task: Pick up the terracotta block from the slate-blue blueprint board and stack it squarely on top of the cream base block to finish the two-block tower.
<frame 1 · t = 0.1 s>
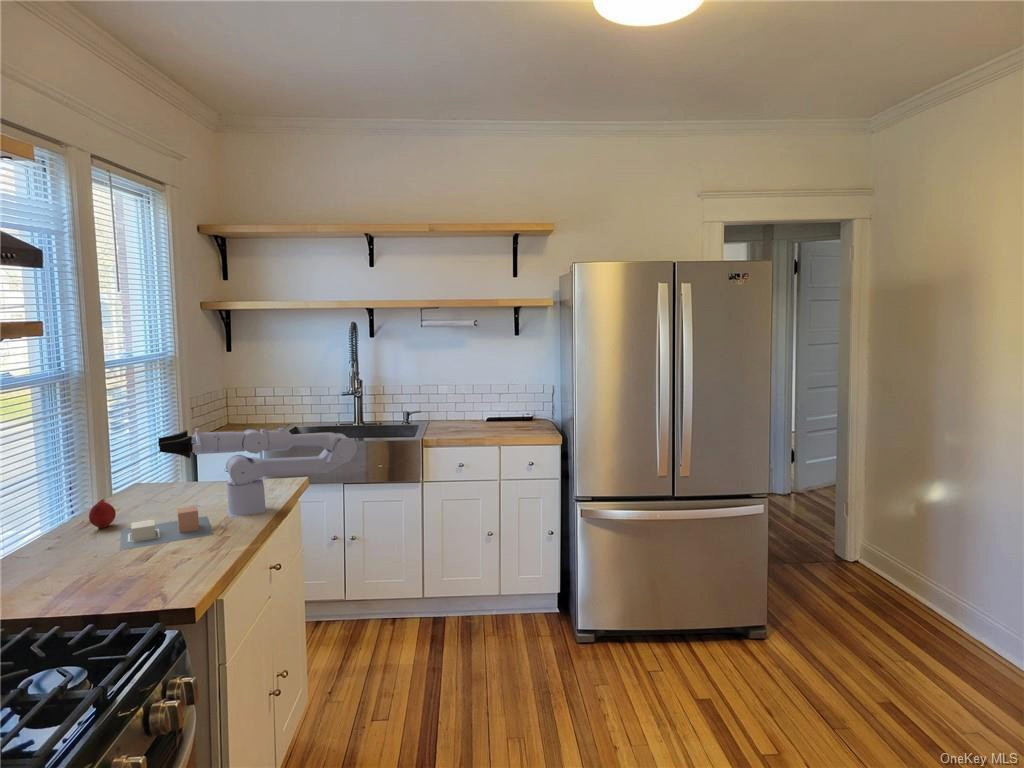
hand: (159, 444, 166), 22 cm above the counter, tool horizontal, fingers open, 7 cm apart
blueprint board: (166, 534, 162), on the counter
terracotta block: (188, 528, 164), point 1 cm above the counter, touching blueprint board
onion: (103, 529, 166), on the counter
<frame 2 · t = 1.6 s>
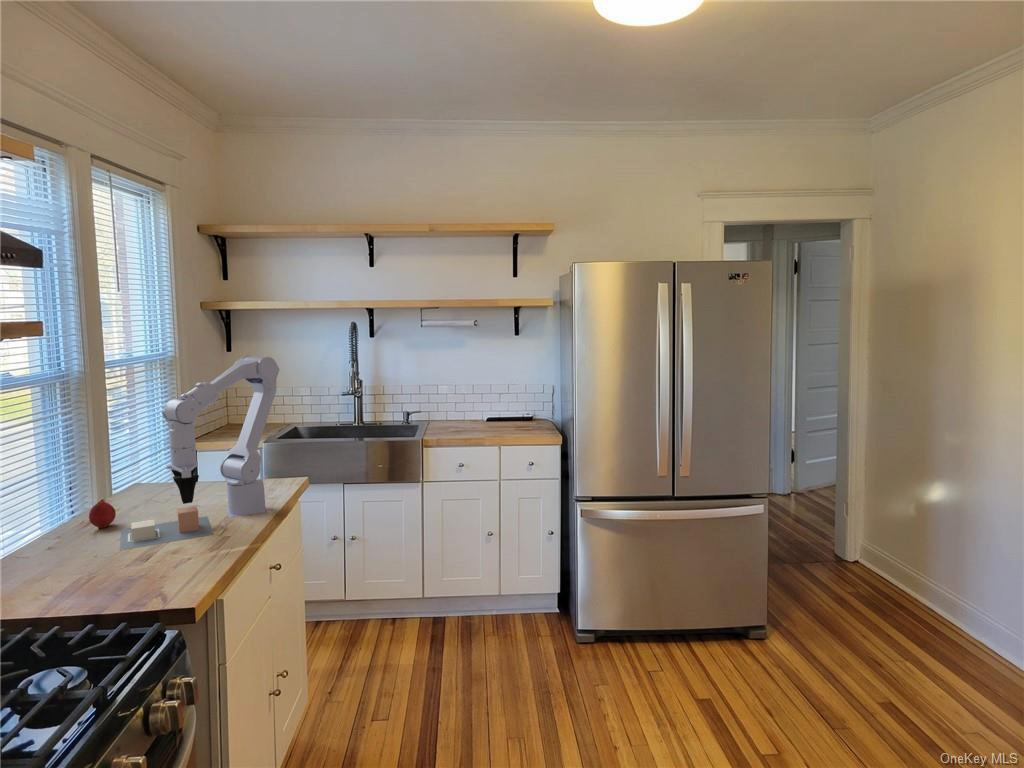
hand: (186, 498, 163), 8 cm above the counter, tool pointing down, fingers open, 7 cm apart
nothing on the counter moved.
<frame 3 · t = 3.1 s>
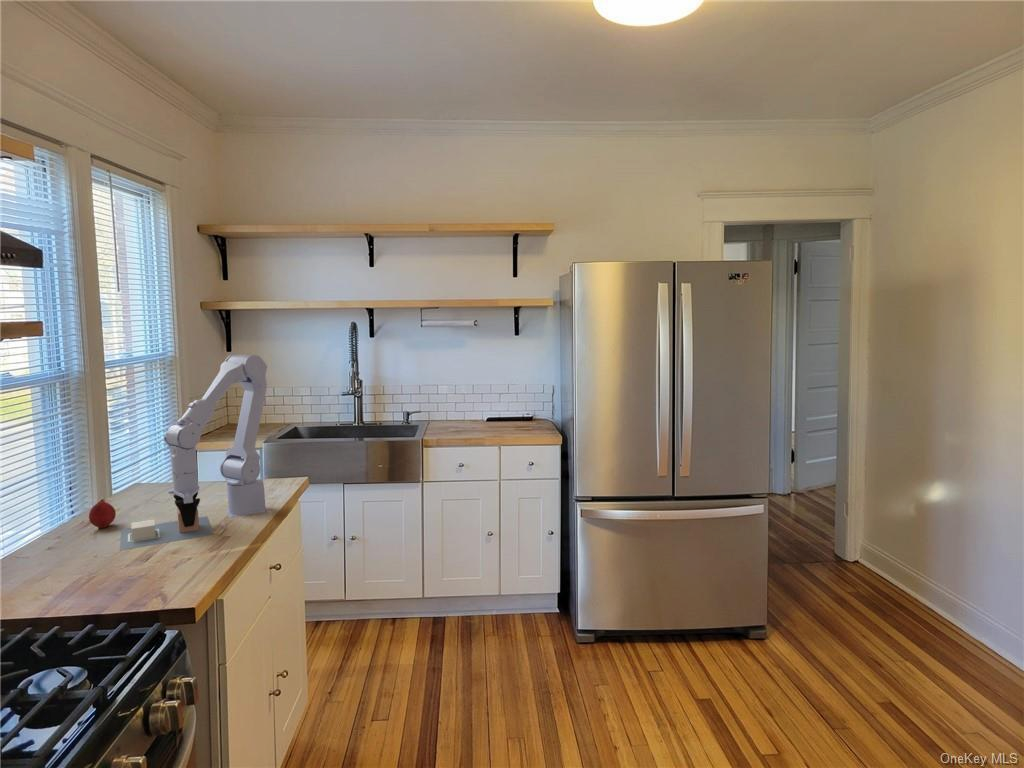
hand: (188, 523, 164), 2 cm above the counter, tool pointing down, fingers closed on terracotta block, 4 cm apart
terracotta block: (188, 528, 164), point 1 cm above the counter, touching blueprint board, gripper
everything else where it was.
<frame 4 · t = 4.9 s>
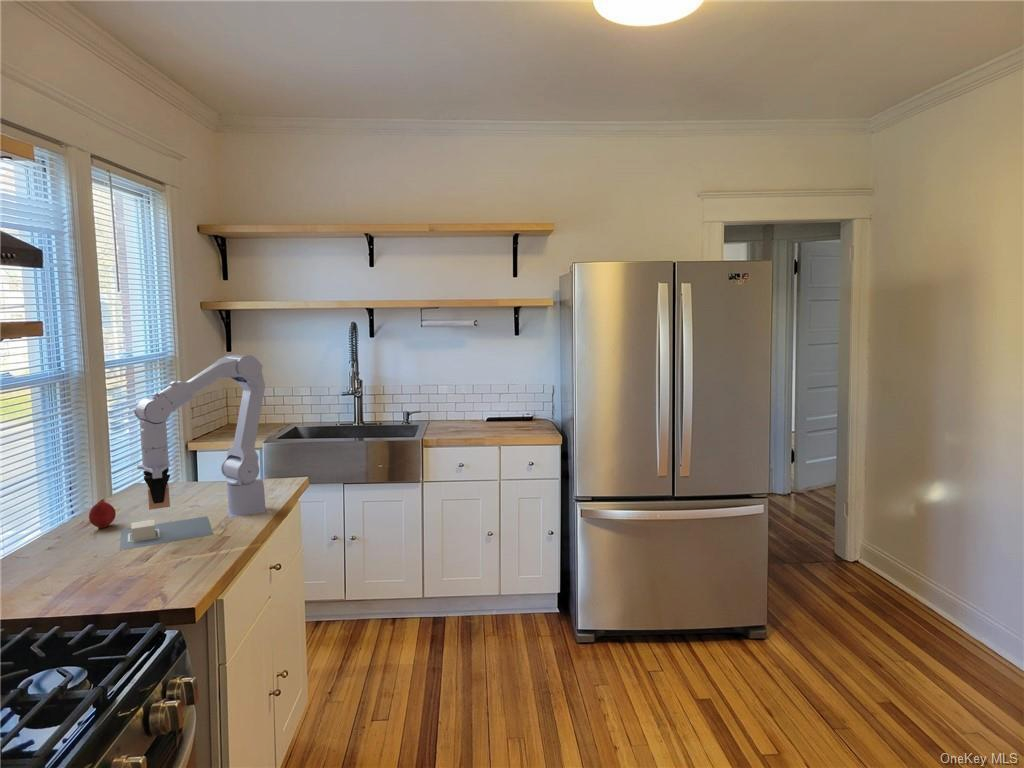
hand: (158, 500, 160), 9 cm above the counter, tool pointing down, fingers closed on terracotta block, 4 cm apart
terracotta block: (159, 505, 160), point 8 cm above the counter, touching gripper
everything else where it was.
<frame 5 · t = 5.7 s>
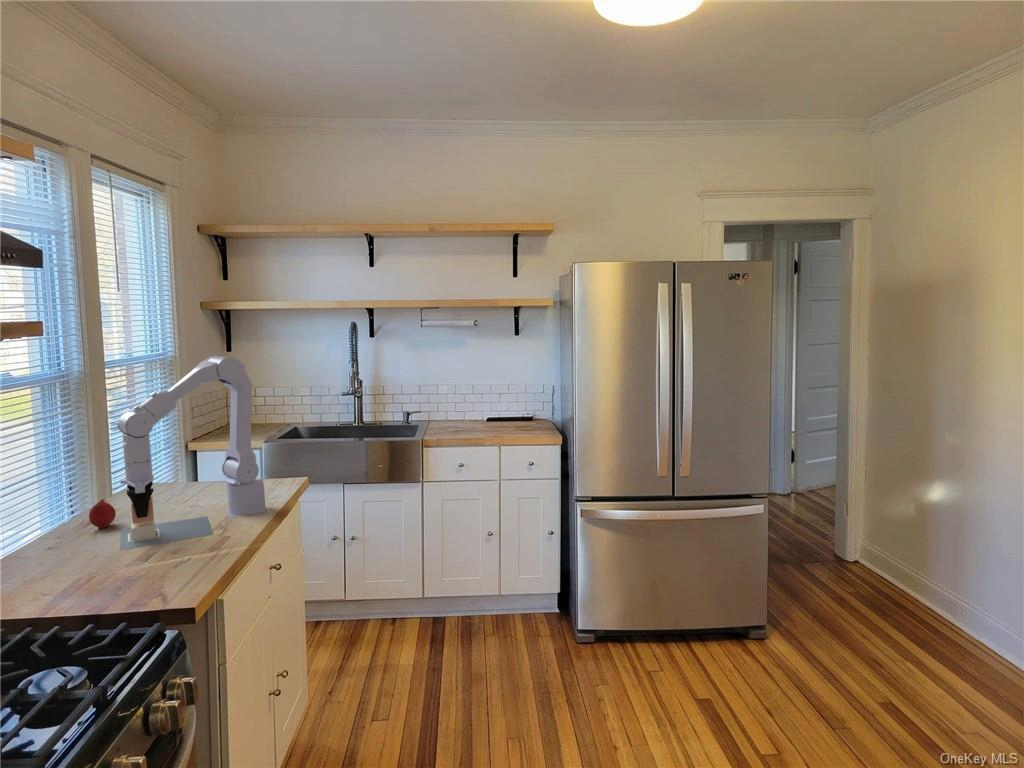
hand: (142, 514, 159), 6 cm above the counter, tool pointing down, fingers closed on terracotta block, 4 cm apart
terracotta block: (143, 519, 159), point 5 cm above the counter, touching gripper
everything else where it was.
when the fingers open (6 cm above the counter, at t = 6.6 s): terracotta block stays where it is, resting on blueprint board.
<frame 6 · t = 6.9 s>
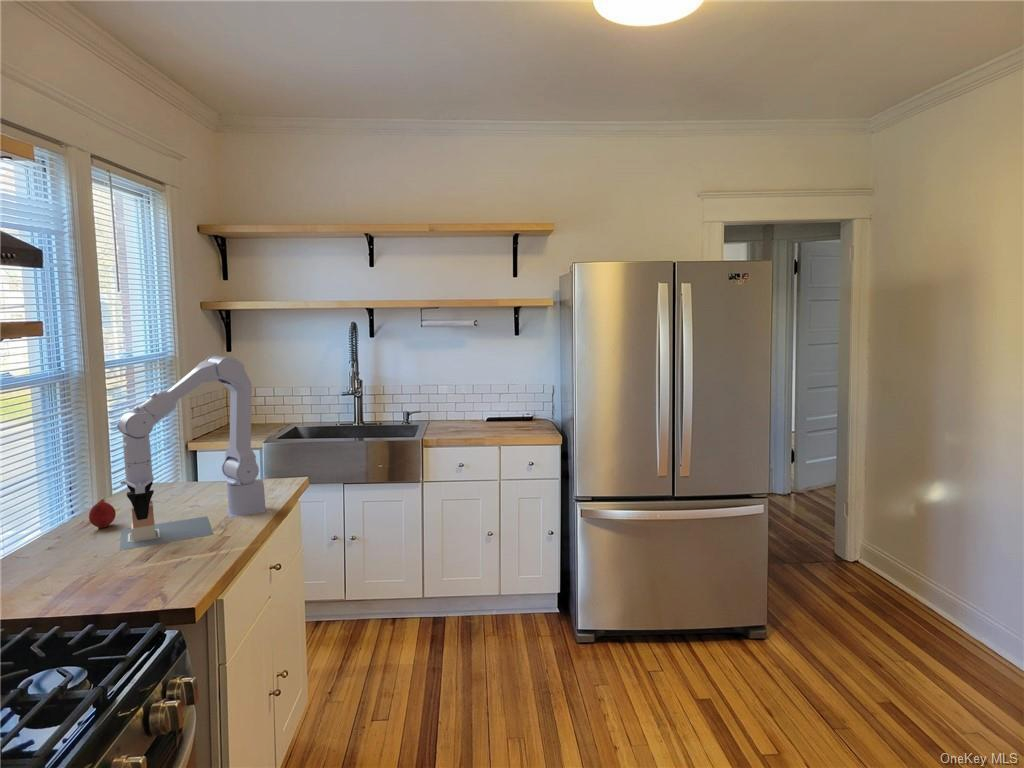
hand: (142, 514, 159), 6 cm above the counter, tool pointing down, fingers open, 7 cm apart
terracotta block: (143, 523, 159), point 4 cm above the counter, touching blueprint board
everything else where it was.
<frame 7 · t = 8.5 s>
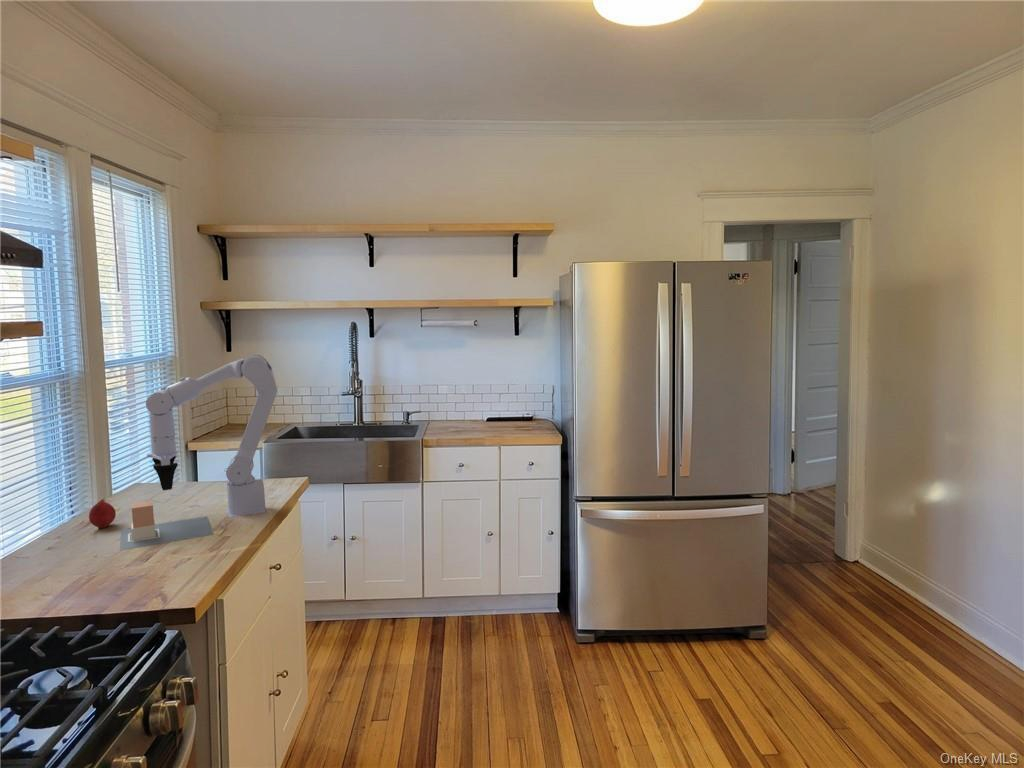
hand: (166, 486, 171), 9 cm above the counter, tool pointing down, fingers open, 7 cm apart
nothing on the counter moved.
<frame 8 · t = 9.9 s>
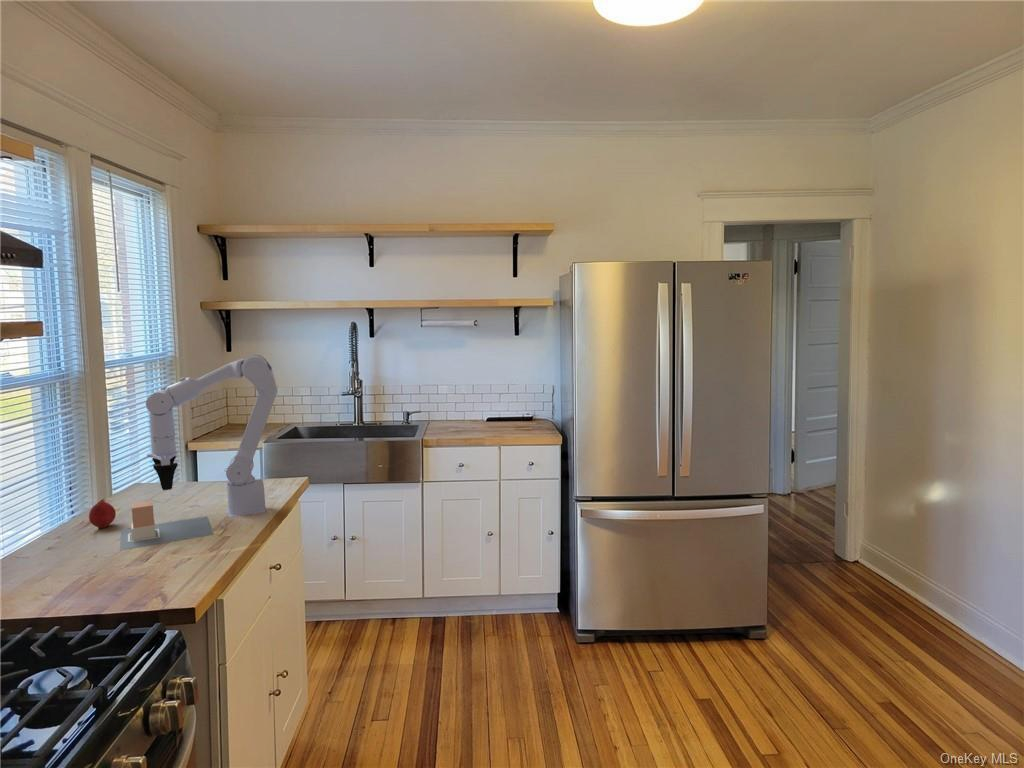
hand: (166, 486, 171), 9 cm above the counter, tool pointing down, fingers open, 7 cm apart
nothing on the counter moved.
at the end: terracotta block 0.2 cm from the target spot on the blueprint board, point 3.6 cm above the blueprint board's base; terracotta block tilted 0°; the gripper is holding nothing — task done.
